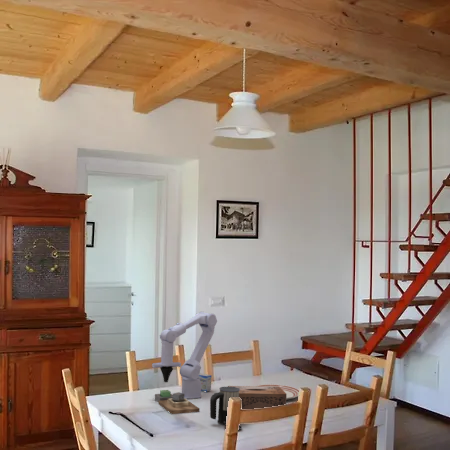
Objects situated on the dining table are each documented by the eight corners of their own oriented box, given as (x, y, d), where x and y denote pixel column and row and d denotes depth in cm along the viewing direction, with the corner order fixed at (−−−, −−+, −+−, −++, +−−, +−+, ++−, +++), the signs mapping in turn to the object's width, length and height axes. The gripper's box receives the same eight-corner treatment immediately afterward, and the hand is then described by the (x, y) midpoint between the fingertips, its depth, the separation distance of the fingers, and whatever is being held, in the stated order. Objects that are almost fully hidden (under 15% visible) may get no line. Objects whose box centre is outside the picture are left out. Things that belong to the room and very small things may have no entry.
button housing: (169, 398, 292) (170, 393, 292) (175, 402, 285) (175, 396, 285) (154, 399, 289) (155, 394, 289) (159, 403, 282) (160, 398, 282)
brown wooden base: (185, 401, 286) (185, 394, 286) (199, 411, 270) (199, 404, 270) (158, 403, 280) (158, 396, 280) (170, 414, 264) (171, 406, 264)
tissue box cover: (278, 407, 285) (279, 386, 286) (285, 415, 271) (286, 393, 271) (226, 406, 282) (227, 385, 282) (231, 415, 268) (232, 393, 268)
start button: (167, 394, 290) (167, 389, 290) (170, 396, 286) (170, 391, 286) (160, 395, 288) (160, 390, 288) (162, 397, 284) (162, 392, 284)
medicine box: (194, 390, 310) (194, 374, 311) (198, 389, 314) (199, 372, 315) (207, 392, 307) (207, 376, 307) (211, 391, 311) (211, 374, 311)
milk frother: (226, 418, 261) (228, 385, 262) (254, 426, 251) (256, 391, 252) (205, 424, 250) (207, 390, 251) (234, 433, 240) (235, 397, 241)
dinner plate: (283, 406, 287) (283, 399, 287) (238, 396, 303) (238, 389, 303) (310, 396, 309) (310, 390, 309) (267, 387, 325) (267, 381, 325)
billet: (177, 402, 278) (178, 392, 278) (184, 404, 276) (184, 393, 276) (172, 404, 275) (172, 393, 275) (178, 406, 272) (178, 395, 273)
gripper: (178, 352, 295) (176, 379, 294) (150, 353, 289) (149, 380, 288) (183, 354, 288) (181, 382, 288) (155, 355, 282) (153, 384, 281)
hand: (165, 381), depth 287 cm, fingers closed
